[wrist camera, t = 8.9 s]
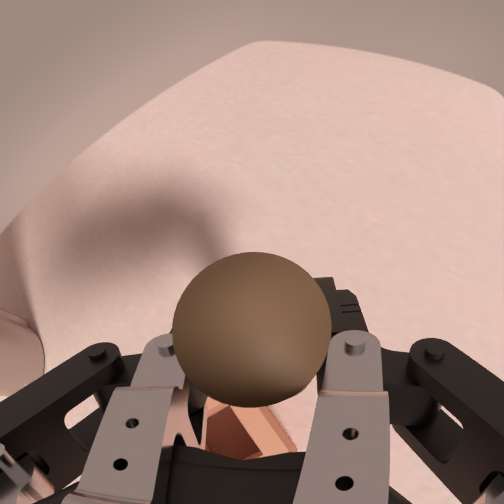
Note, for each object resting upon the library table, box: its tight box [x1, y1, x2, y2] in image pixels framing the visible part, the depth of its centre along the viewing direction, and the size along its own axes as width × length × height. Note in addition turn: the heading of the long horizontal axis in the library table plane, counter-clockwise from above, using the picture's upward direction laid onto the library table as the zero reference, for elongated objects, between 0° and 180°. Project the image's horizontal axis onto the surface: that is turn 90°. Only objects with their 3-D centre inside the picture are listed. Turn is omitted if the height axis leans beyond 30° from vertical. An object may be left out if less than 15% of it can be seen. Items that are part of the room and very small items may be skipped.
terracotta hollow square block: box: [205, 396, 297, 460], centre depth 22 cm, size 8×8×5 cm
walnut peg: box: [172, 252, 332, 408], centre depth 10 cm, size 3×3×10 cm
